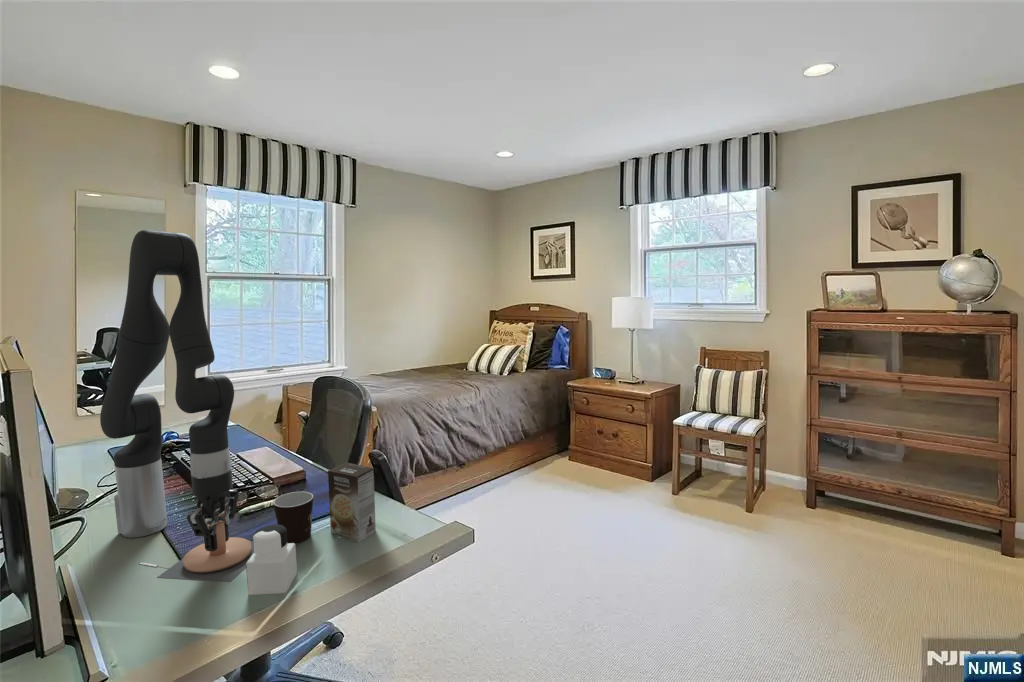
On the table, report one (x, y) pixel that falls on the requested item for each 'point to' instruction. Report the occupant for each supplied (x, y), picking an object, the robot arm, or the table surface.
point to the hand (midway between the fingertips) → (217, 545)
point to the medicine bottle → (271, 561)
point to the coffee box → (352, 501)
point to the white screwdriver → (151, 565)
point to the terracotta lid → (217, 553)
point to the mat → (219, 575)
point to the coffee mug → (295, 515)
